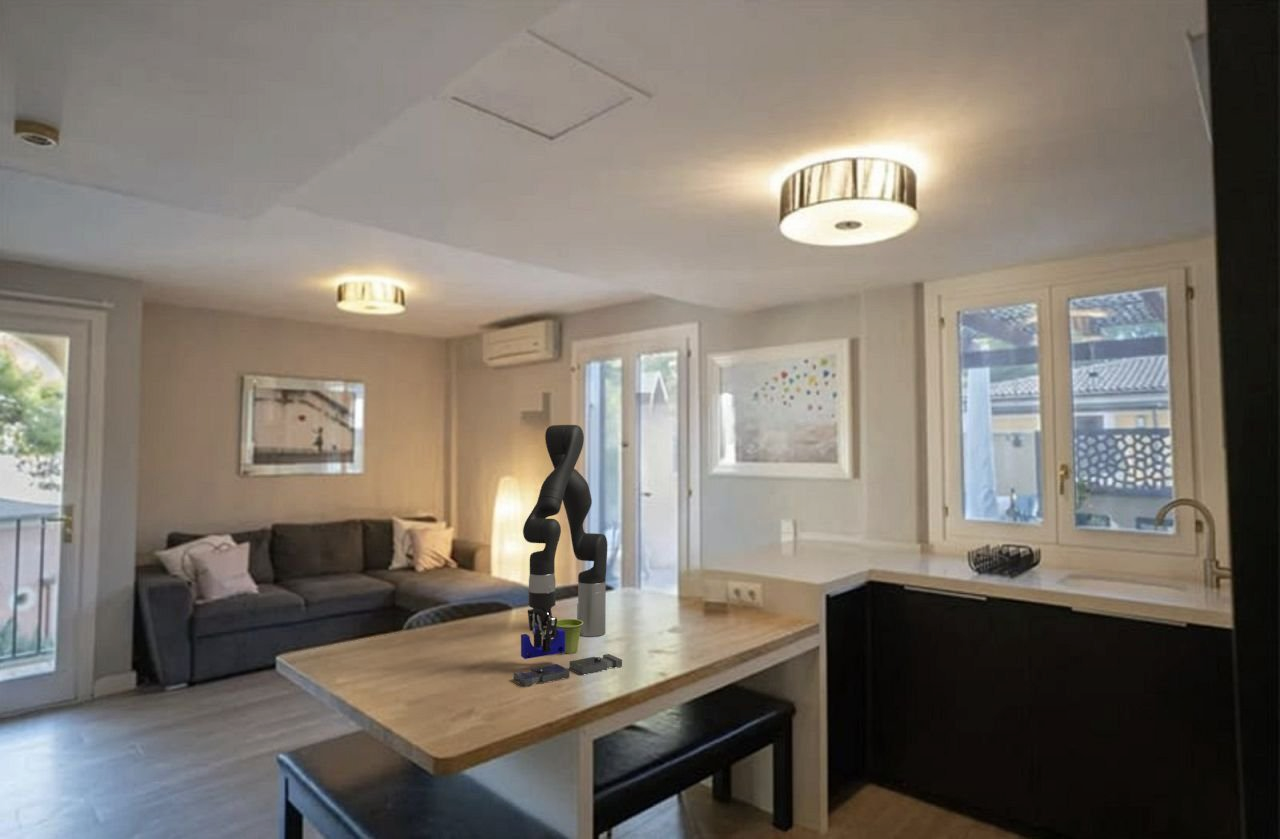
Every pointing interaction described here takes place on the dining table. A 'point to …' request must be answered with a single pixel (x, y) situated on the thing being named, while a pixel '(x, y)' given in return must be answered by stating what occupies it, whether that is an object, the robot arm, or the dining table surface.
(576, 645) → the plant pot
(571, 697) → the dining table surface
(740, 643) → the dining table surface
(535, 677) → the grey slotted plastic plates
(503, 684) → the dining table surface
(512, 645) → the dining table surface
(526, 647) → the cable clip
